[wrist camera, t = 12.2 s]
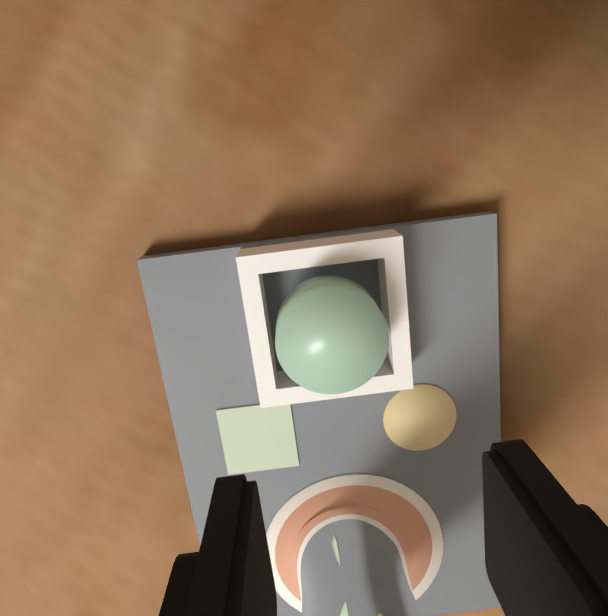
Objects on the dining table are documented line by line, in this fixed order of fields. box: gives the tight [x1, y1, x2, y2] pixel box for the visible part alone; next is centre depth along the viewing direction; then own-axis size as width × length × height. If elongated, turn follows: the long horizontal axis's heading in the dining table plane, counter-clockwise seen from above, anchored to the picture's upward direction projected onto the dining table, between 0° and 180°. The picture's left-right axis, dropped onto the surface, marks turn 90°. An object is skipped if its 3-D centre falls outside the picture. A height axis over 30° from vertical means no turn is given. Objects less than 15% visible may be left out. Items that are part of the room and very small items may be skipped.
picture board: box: [137, 211, 501, 616], centre depth 25 cm, size 16×22×3 cm
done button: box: [275, 275, 389, 394], centre depth 21 cm, size 4×4×2 cm
